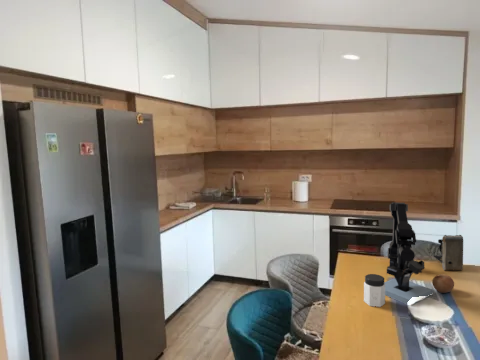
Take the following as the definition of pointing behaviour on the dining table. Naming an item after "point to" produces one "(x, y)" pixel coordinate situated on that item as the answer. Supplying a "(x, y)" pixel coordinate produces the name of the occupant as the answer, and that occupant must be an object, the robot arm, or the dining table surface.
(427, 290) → the mount block
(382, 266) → the dining table surface
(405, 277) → the lens
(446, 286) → the onion
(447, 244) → the vintage camera
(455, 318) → the dining table surface
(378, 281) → the jar
